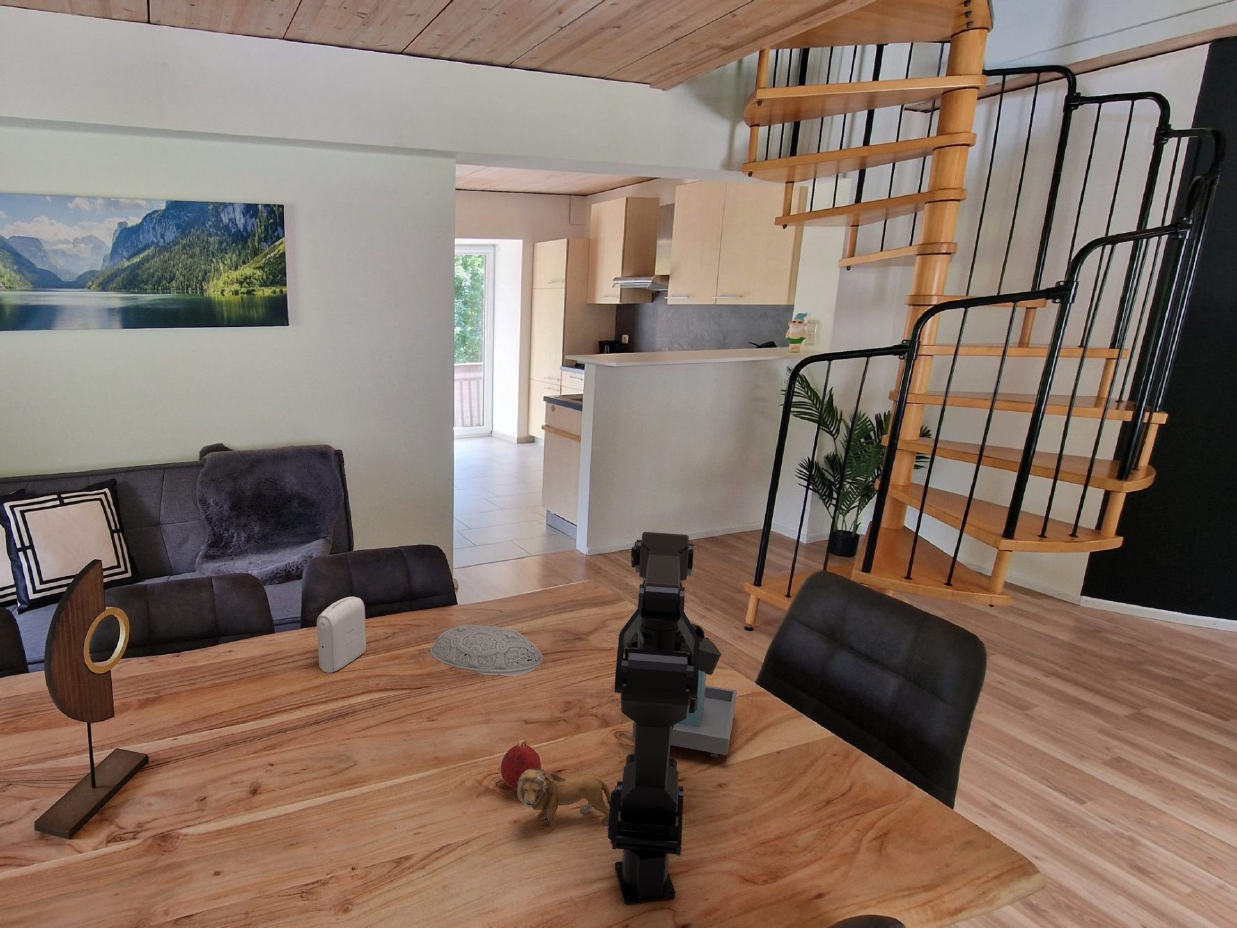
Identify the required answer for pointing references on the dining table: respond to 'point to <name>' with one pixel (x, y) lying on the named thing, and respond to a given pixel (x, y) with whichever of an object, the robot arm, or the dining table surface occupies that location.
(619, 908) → the dining table surface
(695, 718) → the light blue block
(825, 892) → the dining table surface
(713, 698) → the grey footed tray
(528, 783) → the lion figurine
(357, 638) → the photo printer
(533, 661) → the grey carved oval dome
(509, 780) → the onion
